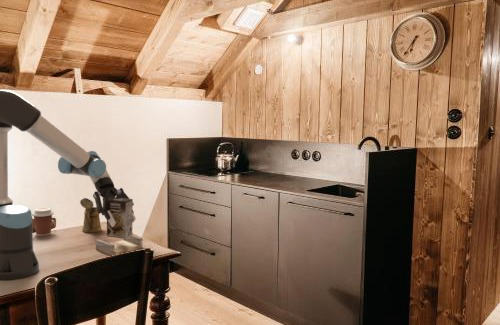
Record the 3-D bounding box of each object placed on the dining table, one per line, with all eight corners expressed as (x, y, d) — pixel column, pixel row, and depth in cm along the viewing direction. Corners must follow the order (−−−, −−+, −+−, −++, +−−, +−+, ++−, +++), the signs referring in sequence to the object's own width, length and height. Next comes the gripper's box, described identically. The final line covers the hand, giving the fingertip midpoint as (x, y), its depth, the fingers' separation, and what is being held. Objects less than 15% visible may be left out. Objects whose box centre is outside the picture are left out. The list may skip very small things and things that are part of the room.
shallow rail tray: (112, 255, 173) (112, 245, 173) (95, 249, 180) (95, 239, 180) (142, 247, 185) (142, 238, 184) (125, 242, 192) (125, 233, 192)
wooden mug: (75, 235, 201) (74, 197, 199) (86, 228, 214) (85, 192, 213) (94, 235, 201) (94, 198, 199) (104, 228, 215) (103, 193, 213)
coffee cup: (31, 233, 203) (31, 208, 202) (52, 230, 208) (51, 206, 207) (34, 237, 196) (33, 212, 194) (55, 235, 201) (54, 210, 199)
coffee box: (106, 237, 180) (105, 199, 178) (114, 233, 186) (113, 197, 185) (125, 239, 178) (125, 201, 176) (133, 235, 184) (132, 198, 183)
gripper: (120, 183, 198) (141, 223, 190) (75, 189, 181) (97, 233, 173) (127, 173, 194) (149, 213, 186) (82, 178, 177) (104, 222, 169)
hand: (124, 222), depth 180 cm, fingers closed on coffee box, 9 cm apart
